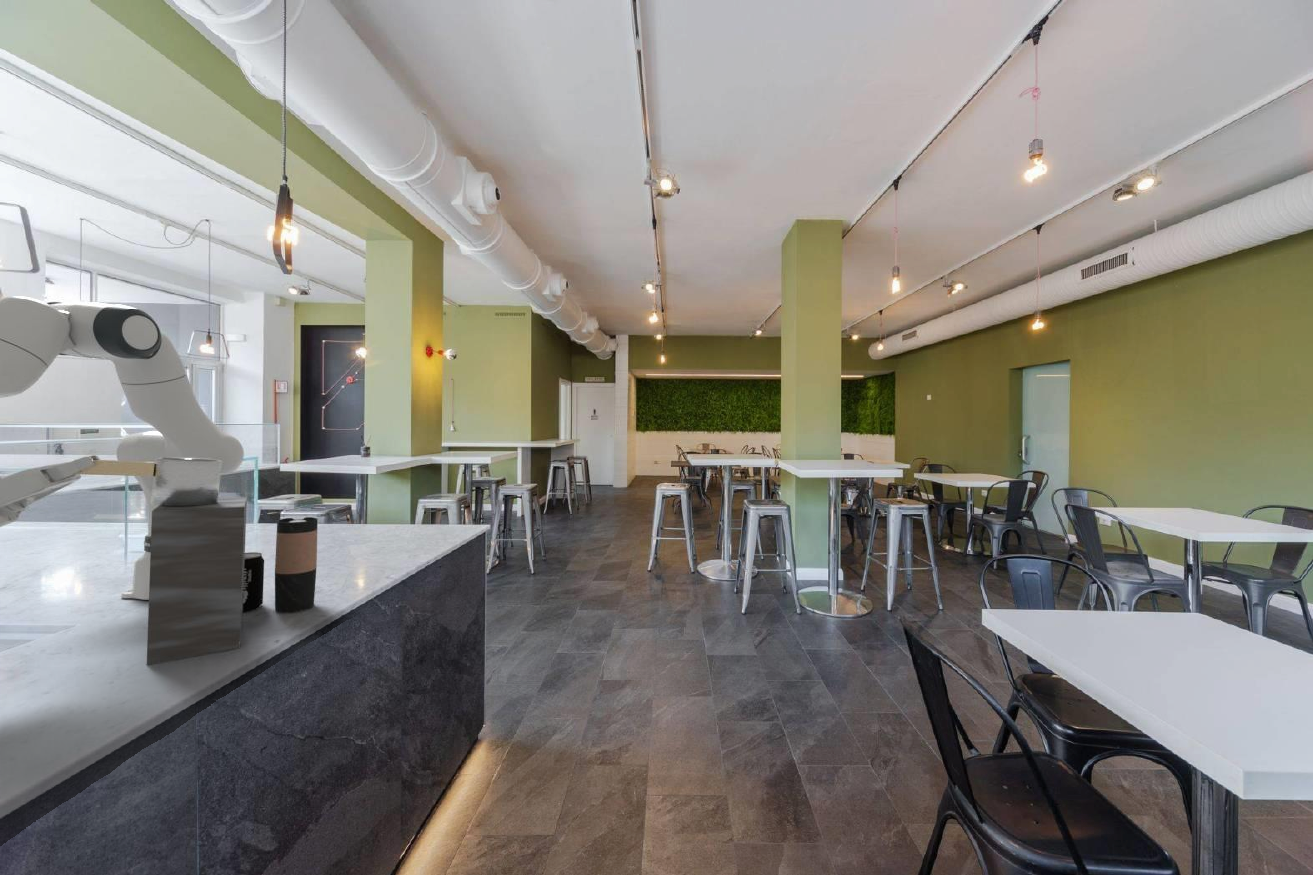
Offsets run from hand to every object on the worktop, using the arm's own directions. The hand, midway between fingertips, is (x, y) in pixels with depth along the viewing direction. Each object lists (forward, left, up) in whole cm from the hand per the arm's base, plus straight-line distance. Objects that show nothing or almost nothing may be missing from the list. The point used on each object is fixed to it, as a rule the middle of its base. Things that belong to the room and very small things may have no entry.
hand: (95, 459), depth 85 cm
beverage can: (-17, +20, -35) cm, 43 cm away
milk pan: (0, +7, -8) cm, 10 cm away
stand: (0, +14, -34) cm, 37 cm away
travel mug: (-12, +29, -35) cm, 47 cm away
